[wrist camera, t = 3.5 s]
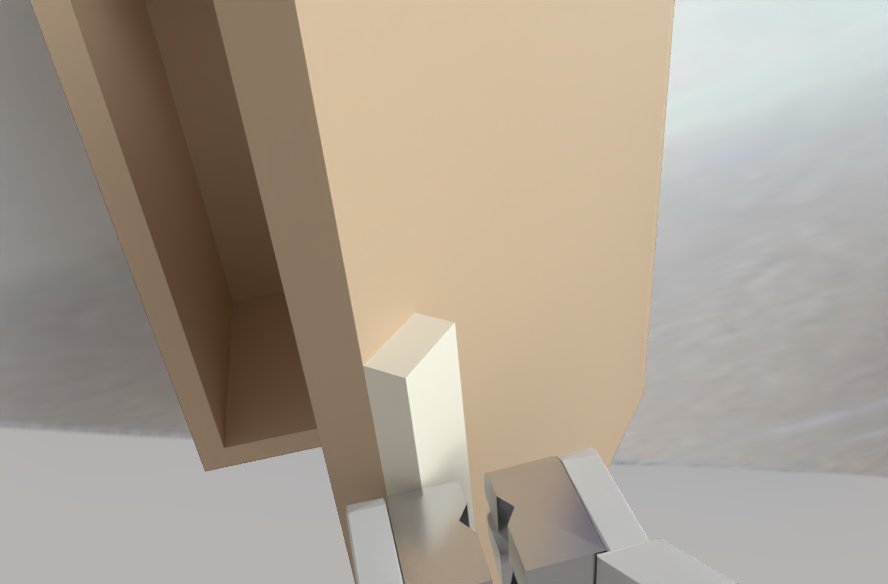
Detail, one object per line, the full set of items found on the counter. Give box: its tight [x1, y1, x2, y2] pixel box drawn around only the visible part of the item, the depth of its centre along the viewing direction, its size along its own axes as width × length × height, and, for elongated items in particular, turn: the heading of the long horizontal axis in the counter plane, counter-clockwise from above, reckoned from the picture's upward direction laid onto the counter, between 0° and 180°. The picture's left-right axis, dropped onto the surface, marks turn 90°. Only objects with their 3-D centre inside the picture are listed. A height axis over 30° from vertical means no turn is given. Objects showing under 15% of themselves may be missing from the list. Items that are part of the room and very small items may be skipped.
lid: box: [213, 0, 675, 584], centre depth 15 cm, size 14×18×2 cm
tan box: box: [30, 0, 322, 471], centre depth 24 cm, size 14×18×10 cm
